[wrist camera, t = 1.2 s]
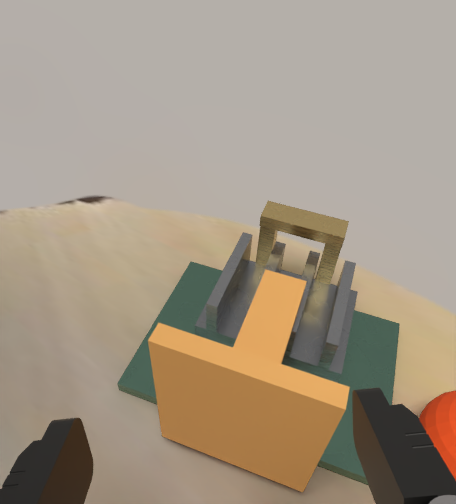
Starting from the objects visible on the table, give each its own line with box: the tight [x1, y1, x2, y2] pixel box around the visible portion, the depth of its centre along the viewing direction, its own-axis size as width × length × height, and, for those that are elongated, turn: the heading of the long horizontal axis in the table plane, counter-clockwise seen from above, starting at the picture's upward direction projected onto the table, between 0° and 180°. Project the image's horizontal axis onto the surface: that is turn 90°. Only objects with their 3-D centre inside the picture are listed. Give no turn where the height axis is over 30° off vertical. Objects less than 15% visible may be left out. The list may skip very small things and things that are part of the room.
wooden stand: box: [148, 269, 350, 492], centre depth 28 cm, size 10×10×12 cm
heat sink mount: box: [118, 201, 399, 485], centre depth 33 cm, size 20×14×11 cm
